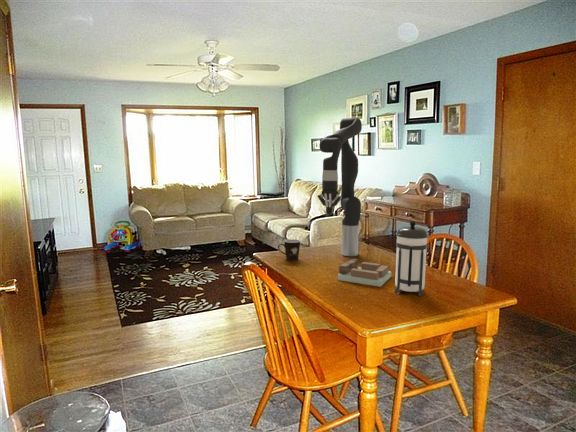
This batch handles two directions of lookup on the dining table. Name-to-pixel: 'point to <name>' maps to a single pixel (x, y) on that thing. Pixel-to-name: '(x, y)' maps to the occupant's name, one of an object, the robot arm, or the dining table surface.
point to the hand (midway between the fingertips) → (329, 214)
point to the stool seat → (367, 274)
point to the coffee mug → (291, 249)
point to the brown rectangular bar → (348, 266)
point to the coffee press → (411, 259)
